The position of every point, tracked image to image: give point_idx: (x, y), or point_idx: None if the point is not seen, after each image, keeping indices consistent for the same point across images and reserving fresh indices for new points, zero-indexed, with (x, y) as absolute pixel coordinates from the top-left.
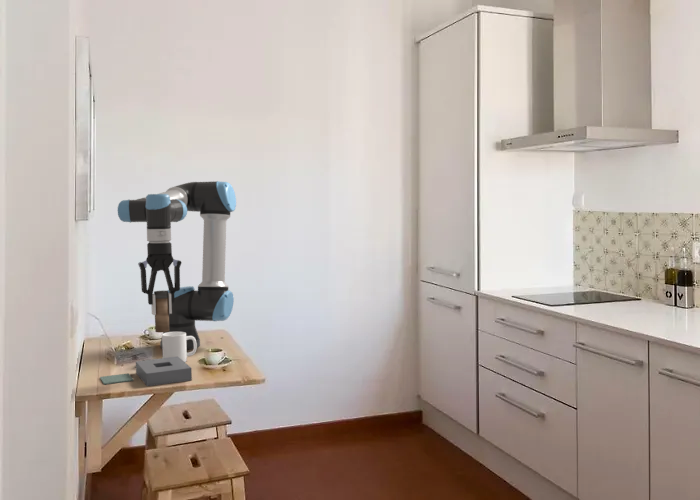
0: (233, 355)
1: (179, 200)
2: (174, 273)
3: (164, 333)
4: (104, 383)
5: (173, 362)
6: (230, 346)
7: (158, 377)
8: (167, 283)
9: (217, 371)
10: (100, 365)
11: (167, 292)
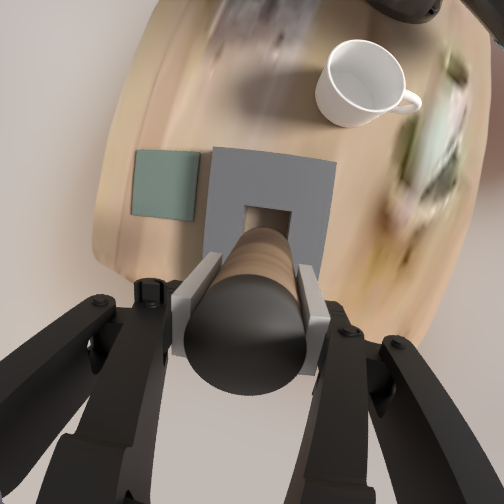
0: (472, 145)
1: None
2: (437, 457)
3: (341, 45)
4: (132, 214)
5: (298, 226)
6: (485, 70)
7: None
8: (319, 388)
9: (389, 260)
10: (175, 36)
11: (286, 379)
